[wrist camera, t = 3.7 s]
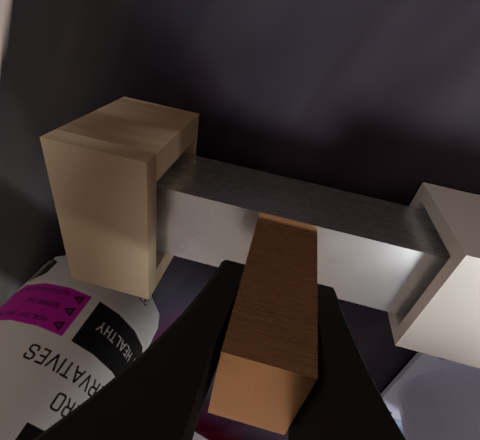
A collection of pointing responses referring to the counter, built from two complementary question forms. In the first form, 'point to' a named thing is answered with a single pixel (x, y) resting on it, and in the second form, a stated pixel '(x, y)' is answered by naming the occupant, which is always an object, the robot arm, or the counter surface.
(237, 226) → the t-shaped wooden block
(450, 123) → the counter surface
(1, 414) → the supplement can
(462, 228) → the white rectangular block
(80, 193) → the oak socket
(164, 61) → the counter surface
